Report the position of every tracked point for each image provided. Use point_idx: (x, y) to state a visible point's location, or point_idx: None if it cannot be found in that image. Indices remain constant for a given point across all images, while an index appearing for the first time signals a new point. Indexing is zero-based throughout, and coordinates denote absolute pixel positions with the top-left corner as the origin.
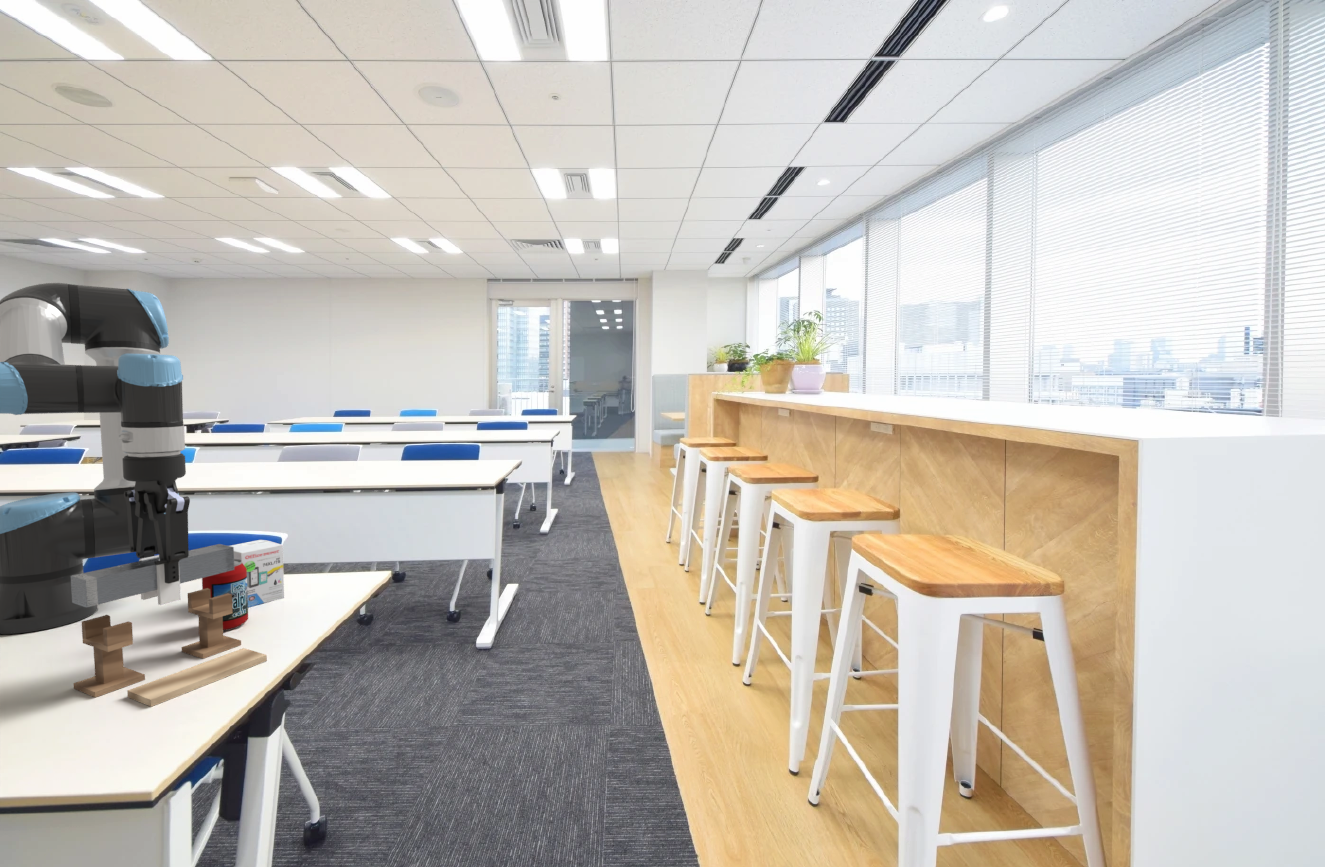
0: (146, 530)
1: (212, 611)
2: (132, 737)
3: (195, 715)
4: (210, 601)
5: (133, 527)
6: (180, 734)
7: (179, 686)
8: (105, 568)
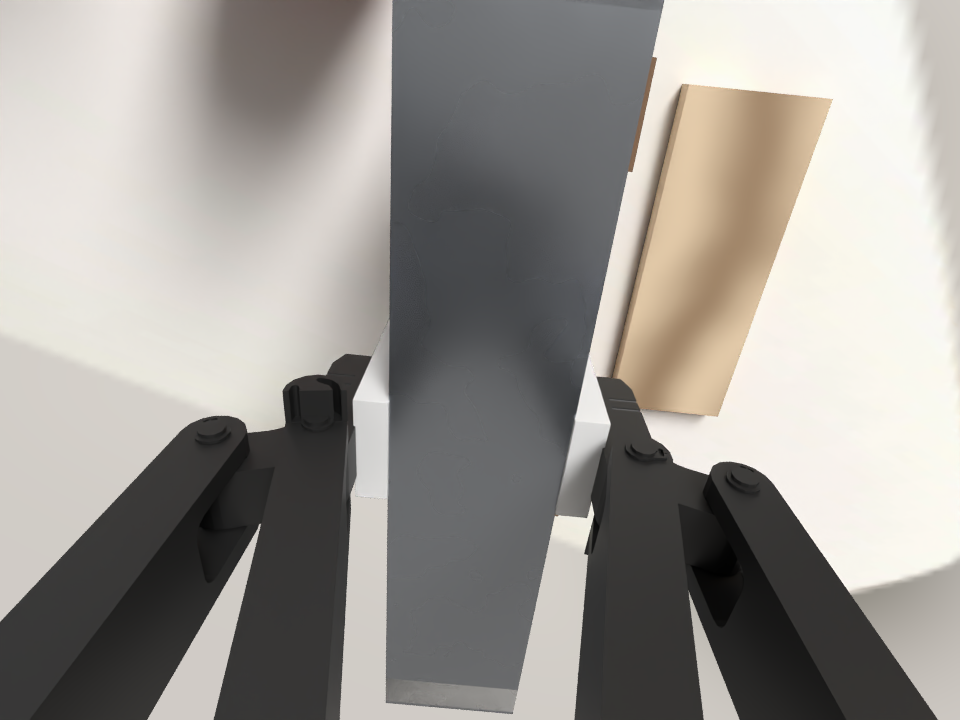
0: (339, 673)
1: None
2: (791, 486)
3: (857, 400)
4: None
5: (158, 689)
6: (887, 456)
7: (726, 354)
8: (390, 622)
